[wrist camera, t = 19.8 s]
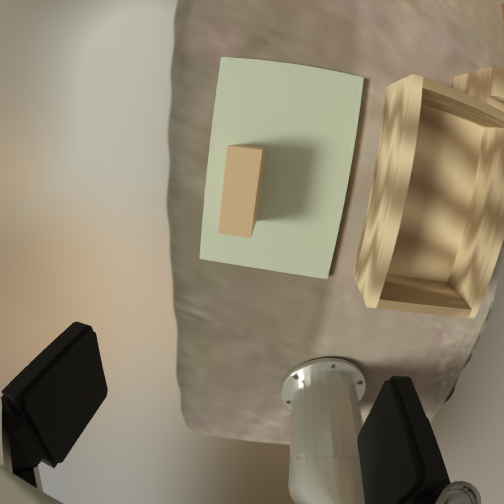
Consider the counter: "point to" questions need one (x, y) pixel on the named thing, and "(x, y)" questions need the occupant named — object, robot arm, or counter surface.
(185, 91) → the counter surface
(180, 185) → the counter surface
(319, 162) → the lid
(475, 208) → the tan wooden open box
